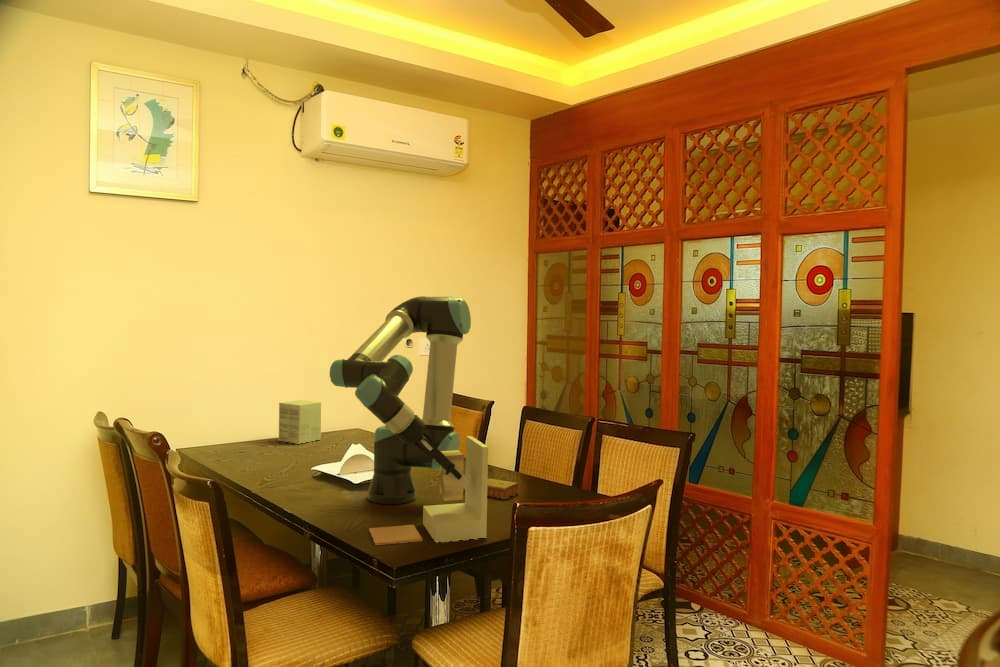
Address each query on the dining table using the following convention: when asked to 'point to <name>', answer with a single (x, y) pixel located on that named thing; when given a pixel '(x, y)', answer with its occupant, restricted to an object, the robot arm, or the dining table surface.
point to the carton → (501, 488)
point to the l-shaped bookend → (467, 516)
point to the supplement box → (299, 421)
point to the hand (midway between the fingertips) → (464, 482)
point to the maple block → (447, 484)
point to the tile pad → (395, 535)
